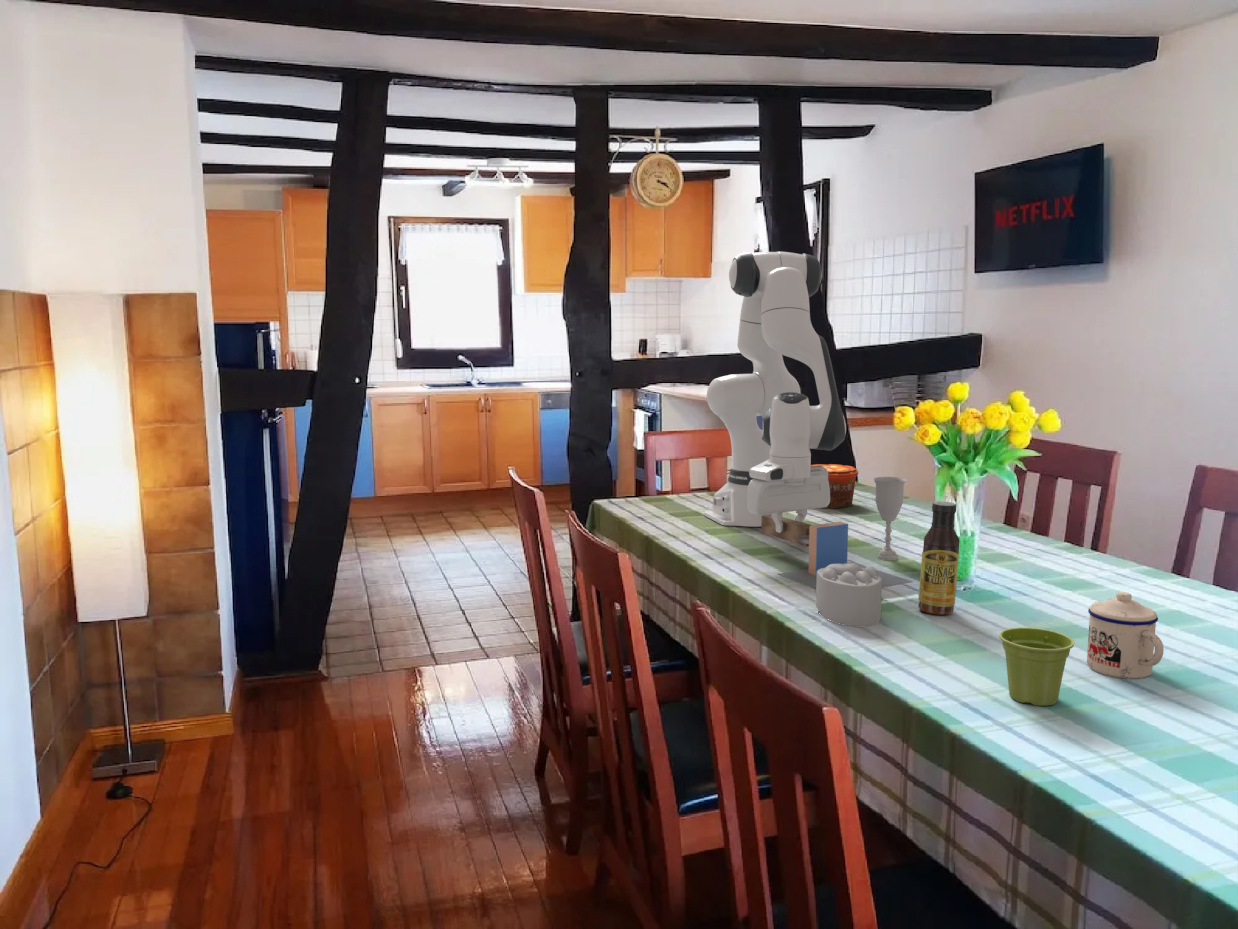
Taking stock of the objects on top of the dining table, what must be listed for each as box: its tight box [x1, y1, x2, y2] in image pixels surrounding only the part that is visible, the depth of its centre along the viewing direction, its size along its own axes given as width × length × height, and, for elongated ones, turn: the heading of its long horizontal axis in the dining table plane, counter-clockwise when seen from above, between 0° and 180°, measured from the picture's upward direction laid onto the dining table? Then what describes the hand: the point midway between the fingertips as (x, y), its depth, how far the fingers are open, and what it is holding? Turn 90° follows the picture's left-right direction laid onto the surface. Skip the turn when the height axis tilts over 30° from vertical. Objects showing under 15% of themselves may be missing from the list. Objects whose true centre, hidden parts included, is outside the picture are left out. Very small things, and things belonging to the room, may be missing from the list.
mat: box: [777, 561, 914, 590], centre depth 188 cm, size 18×20×1 cm
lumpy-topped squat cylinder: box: [815, 562, 883, 627], centre depth 165 cm, size 10×13×9 cm
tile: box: [808, 521, 849, 576], centre depth 191 cm, size 2×8×10 cm, turn 117°
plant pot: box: [998, 627, 1075, 707], centre depth 128 cm, size 9×9×9 cm
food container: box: [811, 463, 859, 509], centre depth 267 cm, size 16×16×11 cm
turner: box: [760, 514, 812, 548], centre depth 201 cm, size 20×8×4 cm, turn 27°
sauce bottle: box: [918, 501, 960, 616], centre depth 166 cm, size 6×6×20 cm
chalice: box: [873, 476, 907, 561], centre depth 202 cm, size 7×7×18 cm
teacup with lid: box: [1086, 591, 1165, 680], centre depth 136 cm, size 12×9×12 cm
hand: (788, 530), depth 203 cm, fingers closed on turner, 3 cm apart
